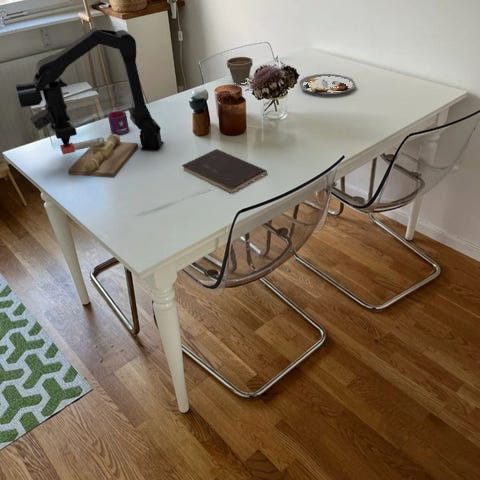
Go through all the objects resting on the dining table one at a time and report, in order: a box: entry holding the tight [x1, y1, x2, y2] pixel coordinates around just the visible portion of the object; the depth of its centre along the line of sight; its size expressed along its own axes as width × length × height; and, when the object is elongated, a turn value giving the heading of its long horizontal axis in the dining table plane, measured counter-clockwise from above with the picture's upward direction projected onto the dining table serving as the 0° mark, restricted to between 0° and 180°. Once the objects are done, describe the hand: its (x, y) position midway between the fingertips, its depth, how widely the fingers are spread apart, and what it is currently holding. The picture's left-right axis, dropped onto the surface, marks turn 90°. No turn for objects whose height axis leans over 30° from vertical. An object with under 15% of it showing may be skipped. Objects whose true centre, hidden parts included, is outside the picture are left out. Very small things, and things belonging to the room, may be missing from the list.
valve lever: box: [59, 136, 106, 155], centre depth 171 cm, size 14×3×2 cm, turn 115°
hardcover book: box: [181, 148, 268, 194], centre depth 166 cm, size 16×23×2 cm
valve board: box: [67, 133, 139, 178], centre depth 175 cm, size 16×22×6 cm
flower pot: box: [226, 56, 254, 85], centre depth 229 cm, size 12×11×10 cm
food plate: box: [299, 73, 357, 95], centre depth 222 cm, size 25×23×4 cm
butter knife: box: [177, 185, 216, 202], centre depth 153 cm, size 1×27×3 cm
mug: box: [107, 110, 130, 136], centre depth 195 cm, size 7×10×7 cm
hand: (66, 146), depth 171 cm, fingers closed
